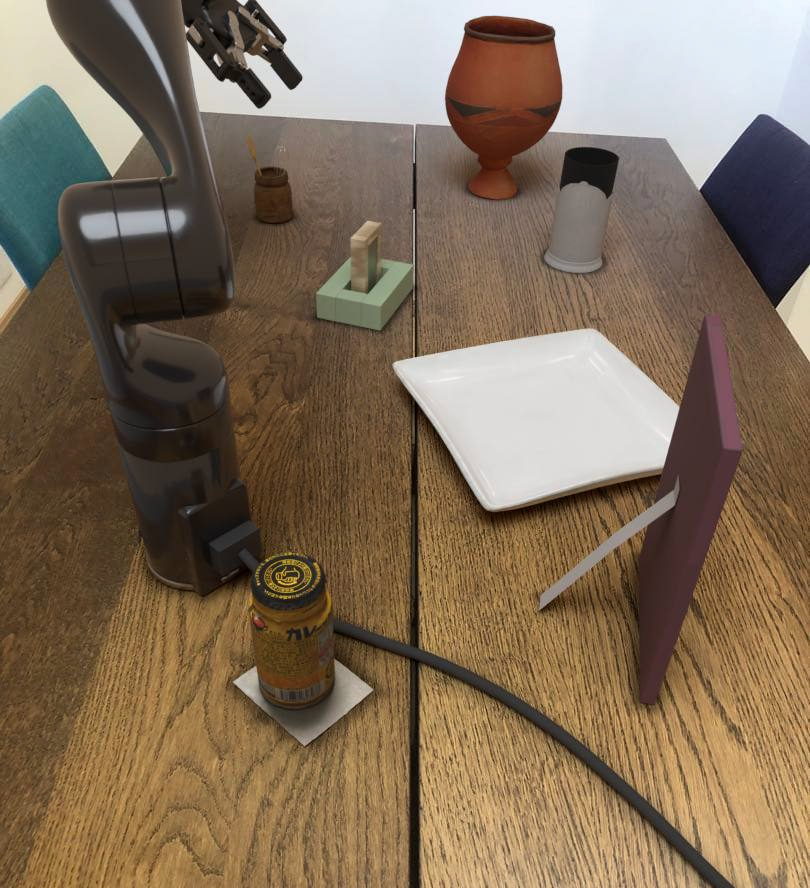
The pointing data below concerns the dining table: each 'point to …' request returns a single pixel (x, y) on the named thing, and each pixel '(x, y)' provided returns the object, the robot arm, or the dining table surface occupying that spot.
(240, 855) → the dining table surface
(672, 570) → the picture frame
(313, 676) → the condiment
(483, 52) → the goblet
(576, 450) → the square plate
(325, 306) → the holder
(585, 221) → the glass holder
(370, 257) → the frame
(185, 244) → the robot arm
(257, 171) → the utensil holder
